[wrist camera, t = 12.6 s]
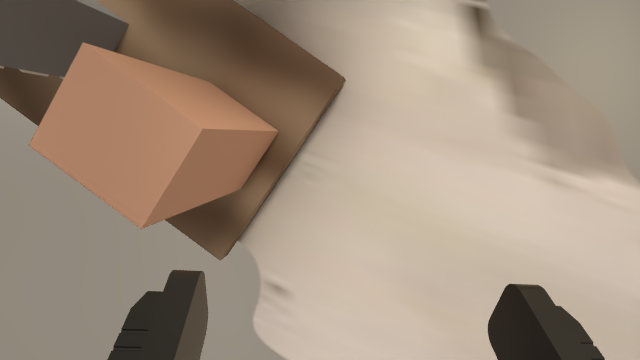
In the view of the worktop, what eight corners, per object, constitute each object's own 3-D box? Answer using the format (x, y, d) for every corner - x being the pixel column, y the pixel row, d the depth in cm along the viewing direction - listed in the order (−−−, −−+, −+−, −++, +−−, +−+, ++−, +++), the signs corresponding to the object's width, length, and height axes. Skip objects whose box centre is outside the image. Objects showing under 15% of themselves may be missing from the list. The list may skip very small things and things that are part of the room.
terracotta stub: (210, 82, 27) (82, 42, 16) (279, 131, 27) (203, 128, 15) (174, 140, 28) (28, 145, 16) (240, 188, 28) (141, 229, 16)
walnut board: (-2, -162, 29) (-22, -177, 28) (345, 80, 28) (343, 77, 26) (-83, 25, 32) (-105, 20, 31) (227, 254, 30) (220, 260, 29)
